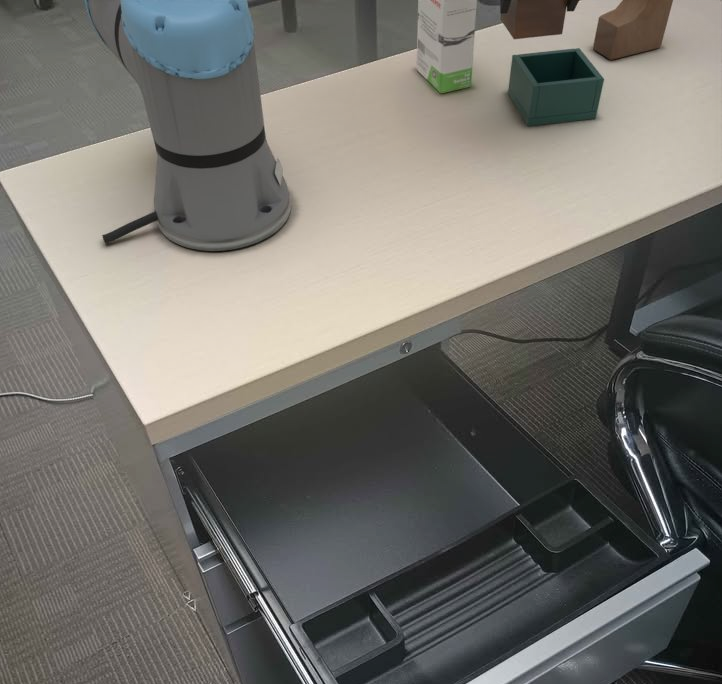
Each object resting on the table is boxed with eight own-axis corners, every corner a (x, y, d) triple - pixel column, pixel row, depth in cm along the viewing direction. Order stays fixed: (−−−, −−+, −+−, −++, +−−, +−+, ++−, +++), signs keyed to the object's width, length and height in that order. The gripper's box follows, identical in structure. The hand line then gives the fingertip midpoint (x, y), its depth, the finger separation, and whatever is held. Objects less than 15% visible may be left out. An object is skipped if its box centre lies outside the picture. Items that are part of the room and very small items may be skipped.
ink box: (472, 87, 105) (480, -9, 95) (439, 94, 104) (444, -2, 94) (446, 62, 110) (451, -32, 100) (414, 69, 109) (416, -26, 99)
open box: (527, 126, 98) (533, 86, 94) (507, 93, 103) (512, 54, 99) (595, 118, 98) (604, 78, 94) (572, 86, 104) (579, 47, 100)
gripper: (627, -212, 81) (621, 20, 83) (444, -205, 81) (444, 25, 84) (651, -273, 73) (644, -16, 76) (450, -264, 74) (450, -10, 77)
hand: (539, 5), depth 80 cm, fingers closed on post, 6 cm apart
